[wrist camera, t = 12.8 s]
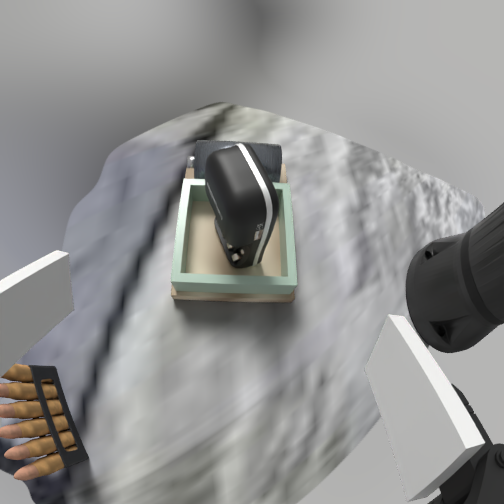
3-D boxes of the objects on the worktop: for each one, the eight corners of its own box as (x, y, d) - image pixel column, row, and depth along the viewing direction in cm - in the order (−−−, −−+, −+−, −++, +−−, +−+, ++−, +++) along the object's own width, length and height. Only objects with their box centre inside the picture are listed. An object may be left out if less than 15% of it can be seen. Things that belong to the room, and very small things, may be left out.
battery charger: (204, 219, 30) (198, 143, 20) (237, 209, 31) (246, 132, 21) (227, 278, 28) (230, 218, 18) (263, 265, 29) (285, 202, 19)
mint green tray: (282, 171, 36) (293, 135, 30) (291, 302, 29) (308, 283, 23) (189, 166, 35) (185, 130, 29) (173, 299, 28) (160, 278, 22)
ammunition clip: (44, 369, 23) (-30, 356, 12) (55, 366, 24) (-18, 352, 13) (76, 460, 19) (13, 488, 9) (89, 458, 20) (27, 489, 9)
